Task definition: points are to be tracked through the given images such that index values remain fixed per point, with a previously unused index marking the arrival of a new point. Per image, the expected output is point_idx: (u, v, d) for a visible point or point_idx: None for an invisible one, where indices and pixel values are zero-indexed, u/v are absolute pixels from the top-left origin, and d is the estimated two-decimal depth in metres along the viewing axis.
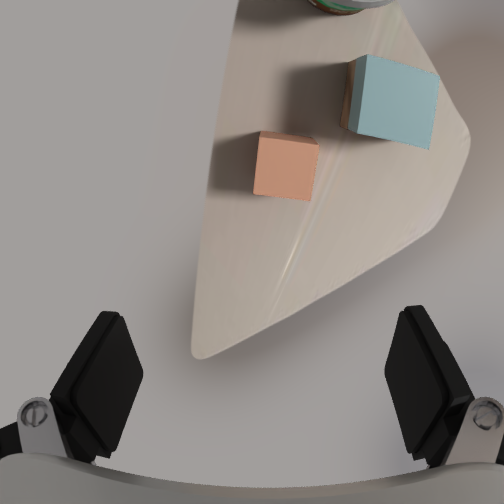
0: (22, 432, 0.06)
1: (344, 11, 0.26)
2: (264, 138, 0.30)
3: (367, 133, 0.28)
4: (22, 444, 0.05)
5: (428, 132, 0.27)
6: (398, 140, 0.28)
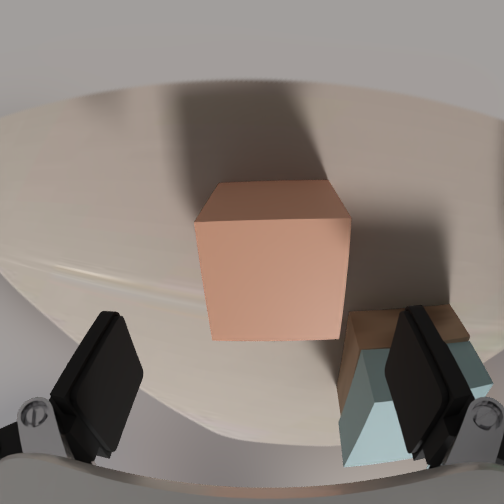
0: (22, 432, 0.06)
1: None
2: (348, 230, 0.12)
3: (372, 413, 0.15)
4: (22, 444, 0.05)
5: (369, 462, 0.17)
6: (358, 443, 0.16)
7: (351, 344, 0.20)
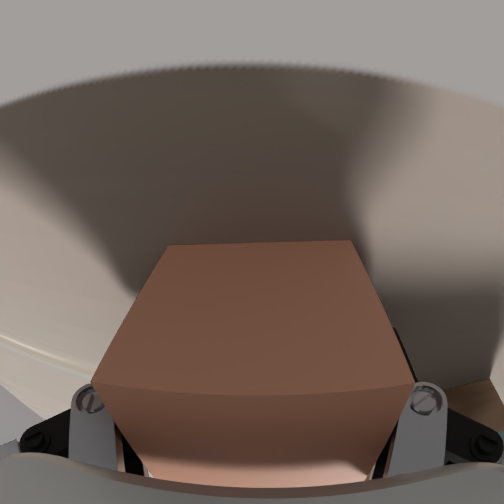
0: (73, 415, 0.06)
1: None
2: (403, 398, 0.05)
3: None
4: (70, 428, 0.06)
5: None
6: None
7: None
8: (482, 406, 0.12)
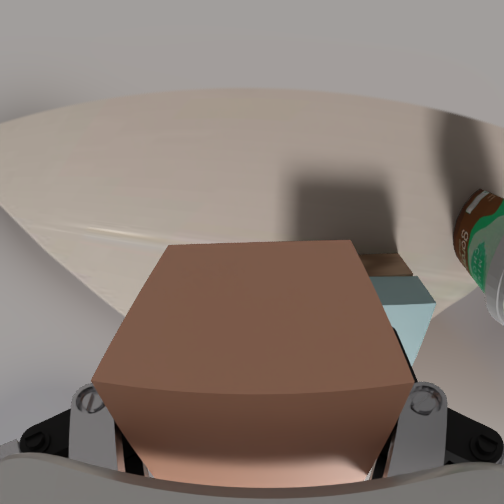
0: (74, 416, 0.06)
1: (464, 248, 0.25)
2: (402, 397, 0.05)
3: None
4: (71, 428, 0.06)
5: None
6: None
7: None
8: (390, 263, 0.26)
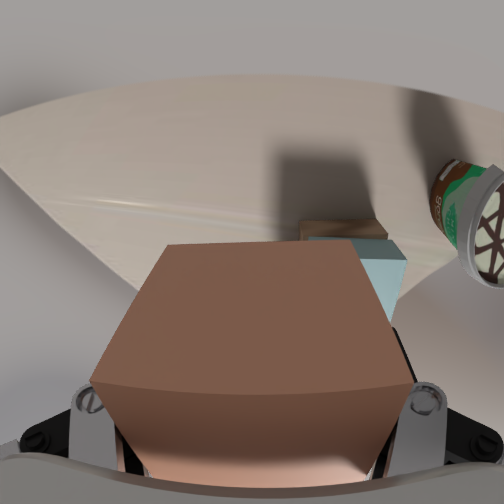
0: (73, 415, 0.06)
1: (439, 212, 0.28)
2: (402, 397, 0.05)
3: None
4: (70, 428, 0.06)
5: None
6: None
7: None
8: (367, 225, 0.30)
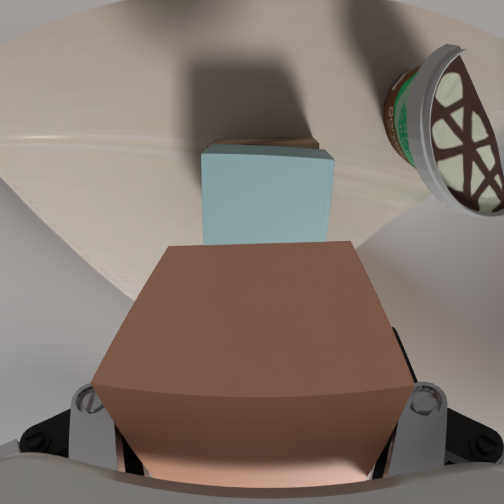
0: (73, 416, 0.06)
1: (392, 126, 0.22)
2: (402, 399, 0.05)
3: (204, 170, 0.19)
4: (71, 428, 0.06)
5: None
6: (205, 220, 0.21)
7: None
8: (296, 139, 0.24)
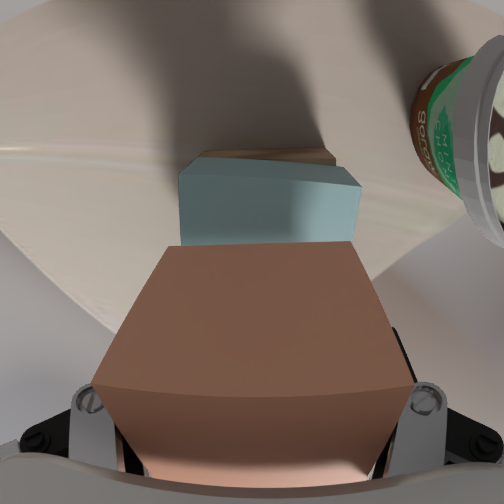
0: (74, 415, 0.06)
1: (424, 135, 0.16)
2: (402, 399, 0.05)
3: (182, 196, 0.14)
4: (70, 428, 0.06)
5: None
6: None
7: None
8: (306, 152, 0.19)
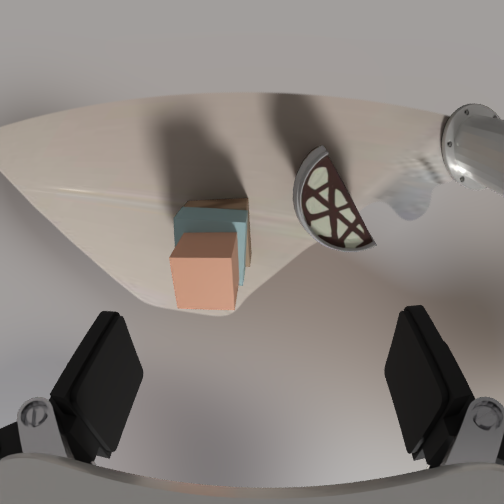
0: (22, 432, 0.06)
1: None
2: (230, 262, 0.30)
3: (175, 227, 0.35)
4: (22, 444, 0.05)
5: None
6: None
7: None
8: (235, 202, 0.40)
